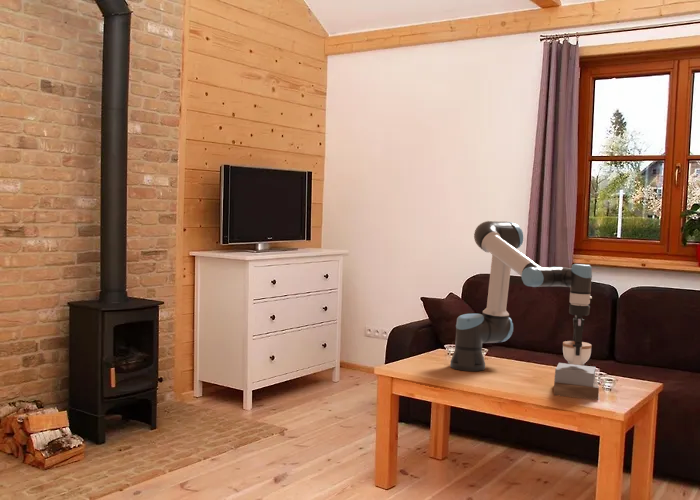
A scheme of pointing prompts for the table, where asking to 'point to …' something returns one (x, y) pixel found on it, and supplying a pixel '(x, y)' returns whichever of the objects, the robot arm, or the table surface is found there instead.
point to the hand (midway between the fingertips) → (576, 360)
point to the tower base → (577, 390)
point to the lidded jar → (569, 352)
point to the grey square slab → (575, 374)
